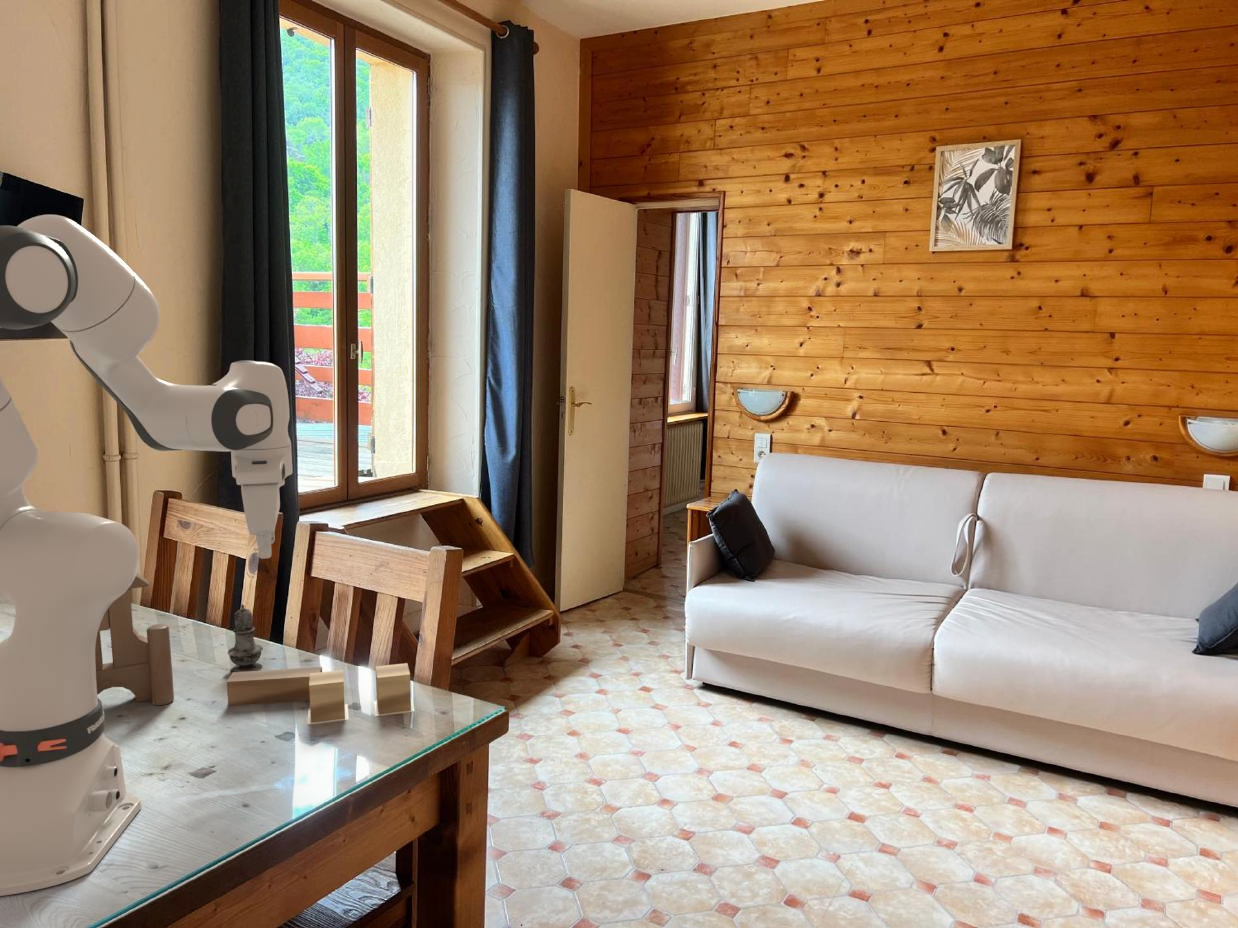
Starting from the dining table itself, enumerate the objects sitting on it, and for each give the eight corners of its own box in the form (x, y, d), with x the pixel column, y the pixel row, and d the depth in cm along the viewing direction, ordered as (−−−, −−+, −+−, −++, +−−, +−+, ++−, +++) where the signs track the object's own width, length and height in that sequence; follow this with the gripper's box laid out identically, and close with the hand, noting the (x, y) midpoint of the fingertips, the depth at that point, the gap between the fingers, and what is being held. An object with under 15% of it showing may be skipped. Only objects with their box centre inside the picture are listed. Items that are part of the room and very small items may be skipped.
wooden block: (319, 705, 144) (318, 675, 144) (228, 711, 142) (226, 681, 141) (323, 695, 148) (322, 666, 148) (234, 701, 146) (232, 672, 145)
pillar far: (411, 710, 140) (409, 674, 139) (378, 714, 139) (377, 677, 138) (408, 698, 145) (407, 662, 144) (376, 701, 143) (375, 666, 143)
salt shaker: (269, 668, 159) (266, 604, 158) (237, 677, 155) (233, 611, 153) (255, 660, 163) (251, 597, 161) (222, 669, 159) (218, 604, 157)
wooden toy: (63, 723, 137) (48, 566, 133) (65, 707, 142) (51, 556, 139) (174, 703, 144) (164, 553, 141) (172, 689, 150) (161, 545, 146)
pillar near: (345, 718, 137) (343, 681, 136) (311, 722, 136) (309, 685, 135) (344, 705, 142) (343, 669, 141) (311, 709, 140) (309, 673, 140)
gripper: (245, 456, 148) (250, 536, 150) (234, 475, 129) (240, 567, 131) (286, 454, 150) (290, 534, 152) (281, 473, 131) (286, 564, 133)
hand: (267, 550), depth 141 cm, fingers open, 8 cm apart
